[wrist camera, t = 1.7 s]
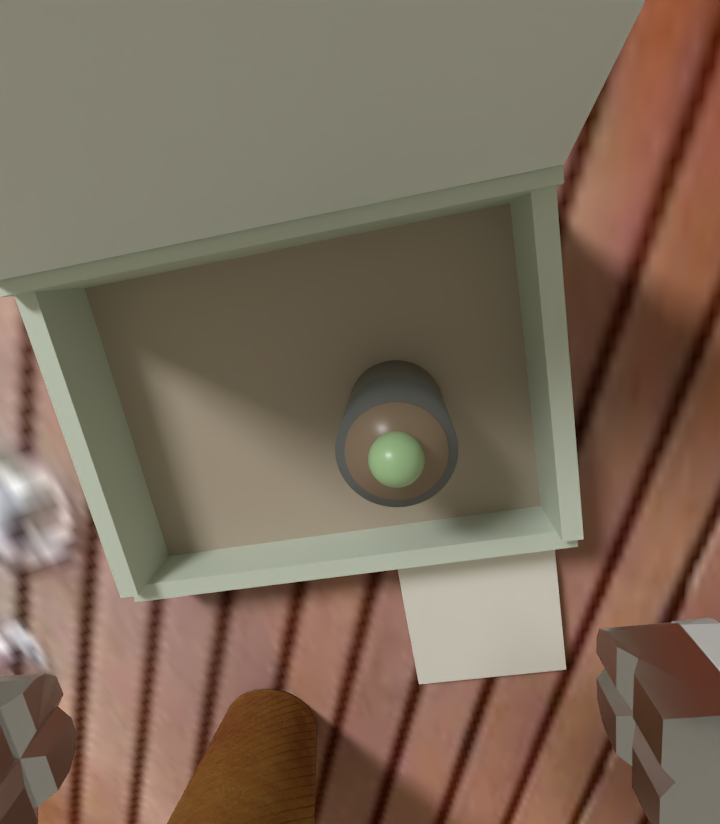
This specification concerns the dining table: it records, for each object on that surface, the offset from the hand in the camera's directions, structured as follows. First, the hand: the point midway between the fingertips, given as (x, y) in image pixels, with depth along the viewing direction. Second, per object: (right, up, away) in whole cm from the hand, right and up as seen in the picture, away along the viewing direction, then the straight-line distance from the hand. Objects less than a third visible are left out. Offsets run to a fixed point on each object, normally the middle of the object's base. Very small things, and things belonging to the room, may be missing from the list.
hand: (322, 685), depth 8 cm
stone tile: (+8, -8, +24) cm, 26 cm away
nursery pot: (+2, +4, +20) cm, 21 cm away
